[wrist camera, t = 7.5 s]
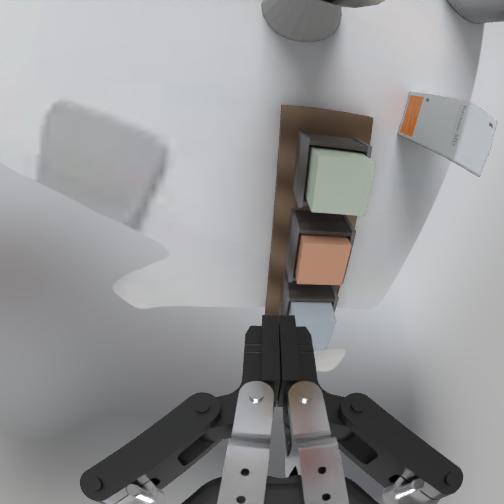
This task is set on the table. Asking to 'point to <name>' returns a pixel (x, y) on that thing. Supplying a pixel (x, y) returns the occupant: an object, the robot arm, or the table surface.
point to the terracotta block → (321, 259)
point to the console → (295, 203)
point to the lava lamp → (307, 16)
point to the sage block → (338, 180)
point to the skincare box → (449, 129)
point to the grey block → (314, 320)
